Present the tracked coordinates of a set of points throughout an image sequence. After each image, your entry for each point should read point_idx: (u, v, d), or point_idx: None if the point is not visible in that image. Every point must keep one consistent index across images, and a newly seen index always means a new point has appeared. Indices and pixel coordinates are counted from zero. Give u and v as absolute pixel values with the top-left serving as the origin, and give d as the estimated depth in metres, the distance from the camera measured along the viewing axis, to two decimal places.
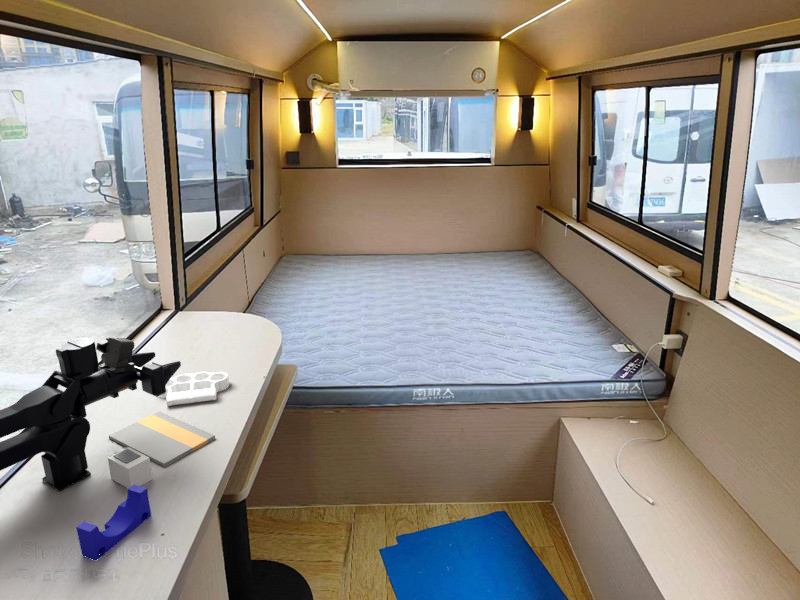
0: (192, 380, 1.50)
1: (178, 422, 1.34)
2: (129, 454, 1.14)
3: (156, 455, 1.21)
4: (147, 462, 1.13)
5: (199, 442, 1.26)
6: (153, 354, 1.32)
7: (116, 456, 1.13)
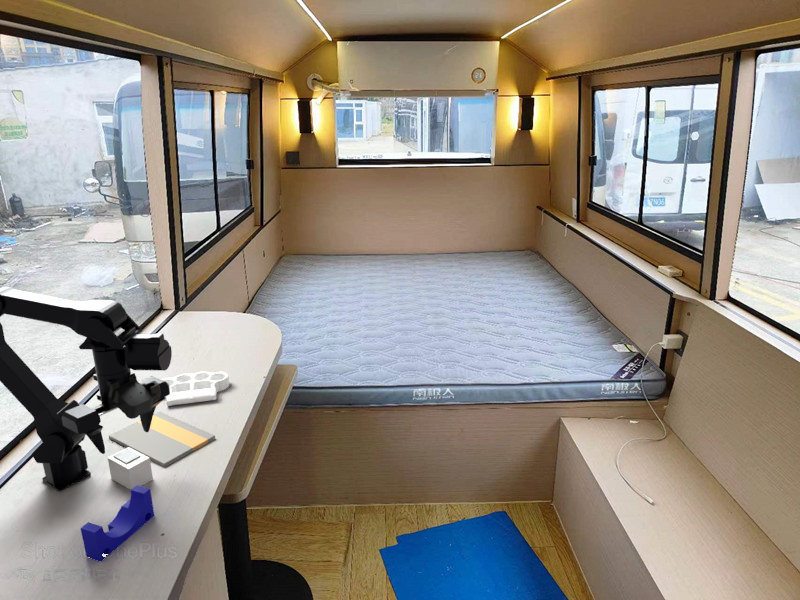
0: (192, 380, 1.50)
1: (178, 422, 1.34)
2: (129, 454, 1.14)
3: (156, 455, 1.21)
4: (147, 462, 1.13)
5: (199, 442, 1.26)
6: (146, 430, 1.16)
7: (116, 456, 1.13)
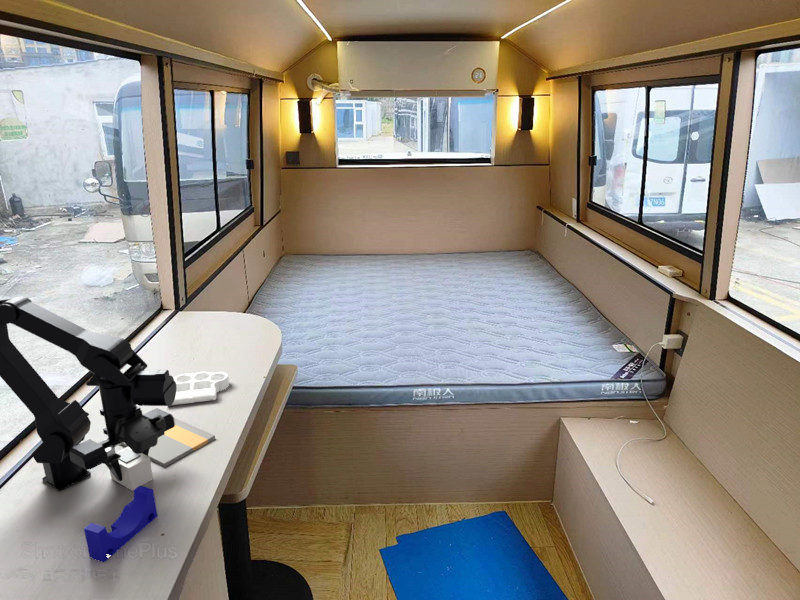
0: (192, 380, 1.50)
1: (178, 422, 1.34)
2: (129, 454, 1.14)
3: (156, 455, 1.21)
4: (147, 461, 1.13)
5: (199, 442, 1.26)
6: None
7: None
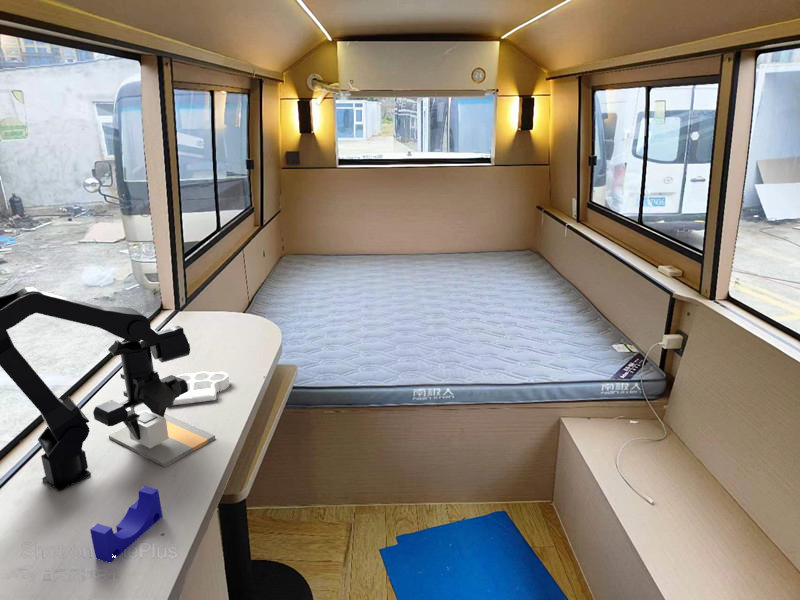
0: (192, 380, 1.50)
1: (178, 422, 1.34)
2: (147, 415, 1.24)
3: (156, 455, 1.21)
4: (163, 422, 1.23)
5: (199, 442, 1.26)
6: None
7: None
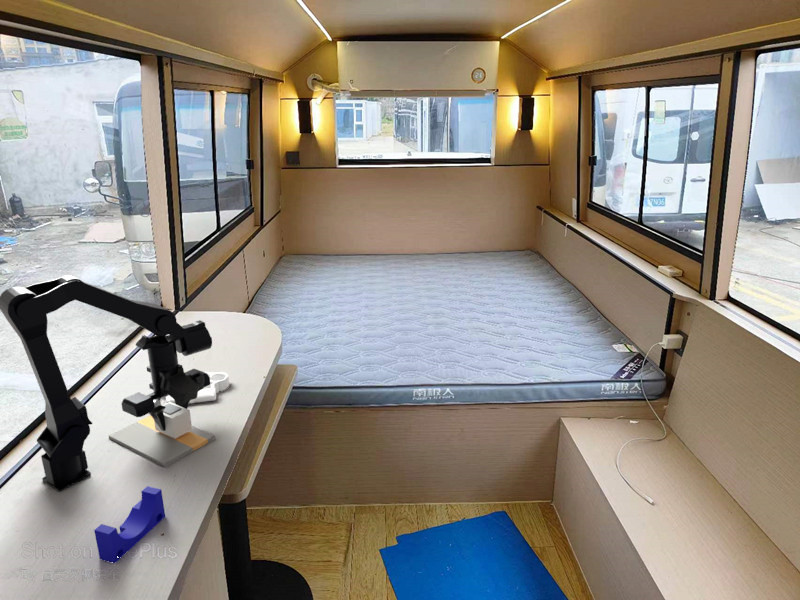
0: None
1: None
2: (171, 407, 1.29)
3: (156, 455, 1.21)
4: (187, 413, 1.28)
5: (199, 442, 1.26)
6: None
7: None
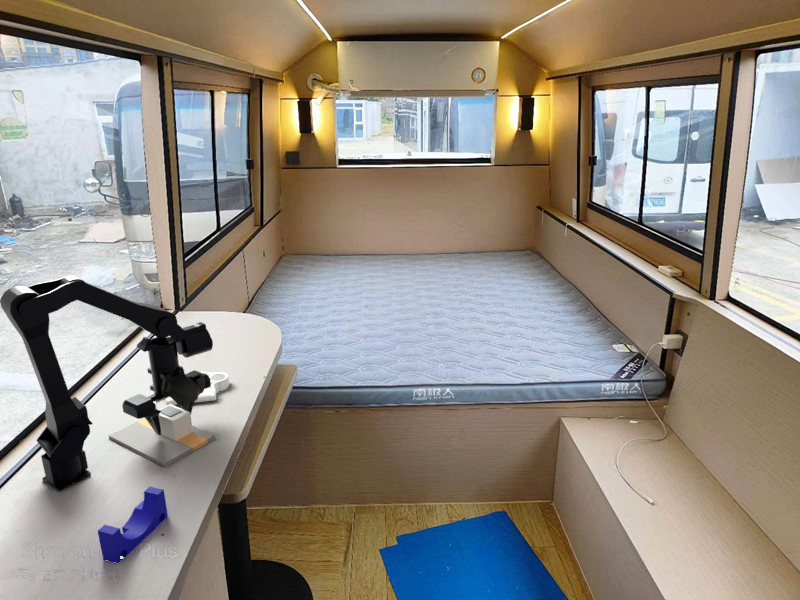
0: None
1: None
2: (172, 409, 1.29)
3: (156, 455, 1.21)
4: (188, 416, 1.28)
5: (199, 442, 1.26)
6: None
7: (161, 411, 1.28)
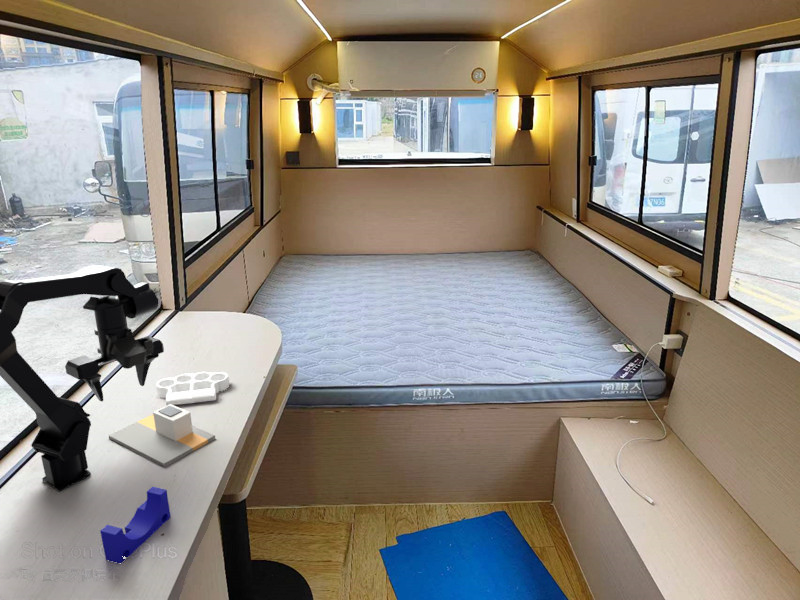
0: (192, 380, 1.50)
1: None
2: (172, 409, 1.29)
3: (156, 455, 1.21)
4: (188, 416, 1.28)
5: (199, 442, 1.26)
6: (141, 384, 1.28)
7: (161, 411, 1.28)
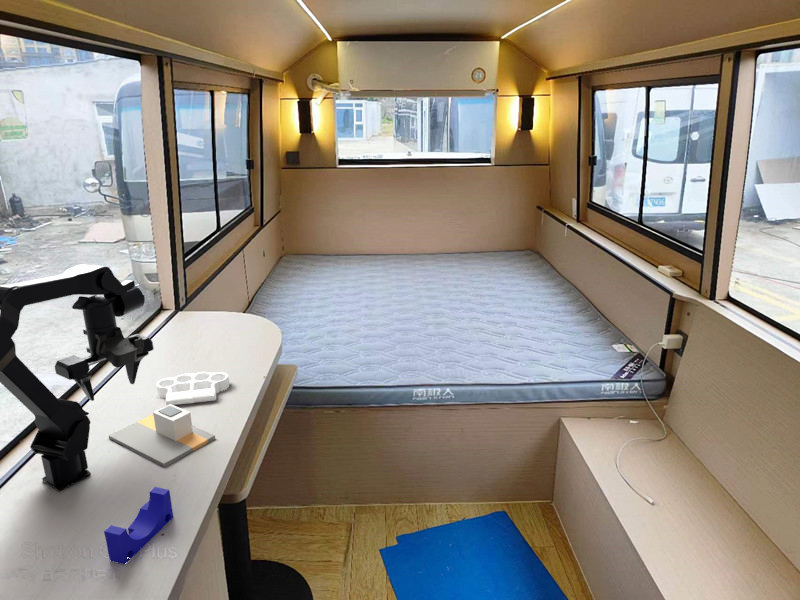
0: (192, 380, 1.50)
1: None
2: (172, 409, 1.29)
3: (156, 455, 1.21)
4: (188, 416, 1.28)
5: (199, 442, 1.26)
6: (132, 382, 1.28)
7: (161, 411, 1.28)
